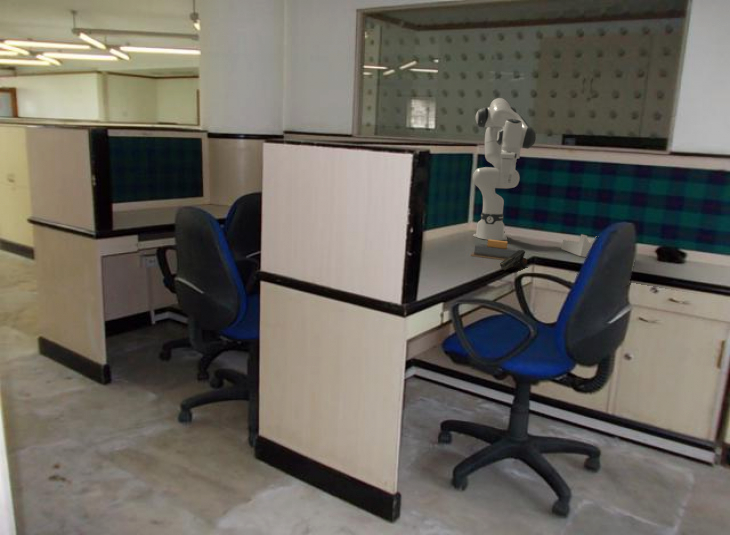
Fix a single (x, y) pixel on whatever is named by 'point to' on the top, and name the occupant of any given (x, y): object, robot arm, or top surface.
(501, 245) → the orange arch block
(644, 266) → the top surface
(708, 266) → the top surface
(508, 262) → the toy gun
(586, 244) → the tape dispenser
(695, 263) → the top surface
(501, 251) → the rail board
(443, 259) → the top surface
